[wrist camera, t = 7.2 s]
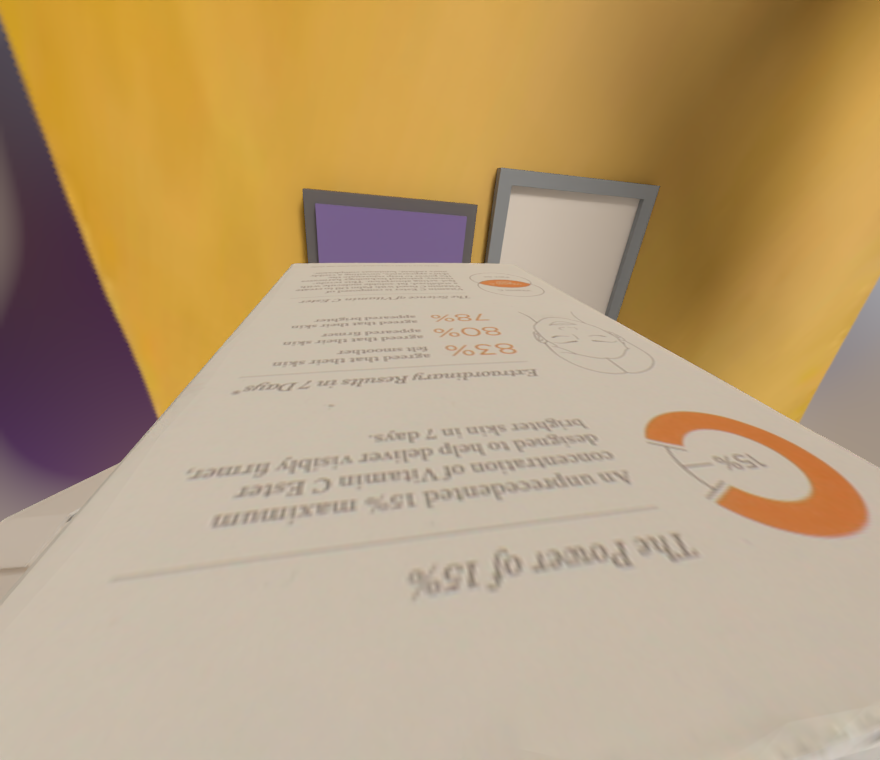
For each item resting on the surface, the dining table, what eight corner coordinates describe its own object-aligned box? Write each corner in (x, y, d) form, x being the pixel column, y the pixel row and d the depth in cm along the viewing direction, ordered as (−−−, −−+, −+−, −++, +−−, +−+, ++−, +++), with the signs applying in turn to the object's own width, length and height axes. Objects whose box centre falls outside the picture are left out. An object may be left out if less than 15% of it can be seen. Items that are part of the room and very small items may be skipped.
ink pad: (473, 204, 27) (479, 205, 26) (458, 330, 32) (462, 337, 31) (305, 188, 25) (301, 188, 24) (315, 326, 30) (312, 334, 28)
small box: (312, 418, 15) (156, 1112, 4) (288, 259, 12) (-727, 1262, 1) (499, 406, 17) (788, 887, 5) (519, 260, 14) (1282, 648, 2)
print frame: (653, 185, 29) (660, 186, 28) (598, 357, 36) (603, 361, 35) (497, 168, 27) (501, 167, 26) (471, 356, 33) (473, 360, 33)
